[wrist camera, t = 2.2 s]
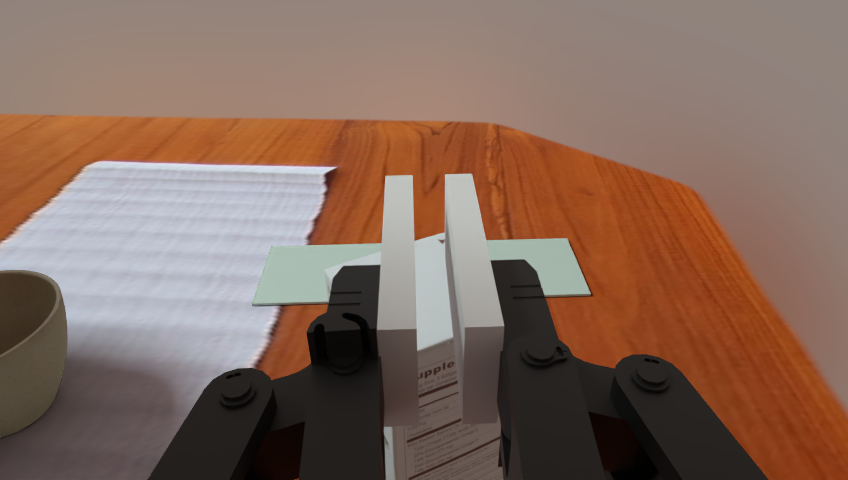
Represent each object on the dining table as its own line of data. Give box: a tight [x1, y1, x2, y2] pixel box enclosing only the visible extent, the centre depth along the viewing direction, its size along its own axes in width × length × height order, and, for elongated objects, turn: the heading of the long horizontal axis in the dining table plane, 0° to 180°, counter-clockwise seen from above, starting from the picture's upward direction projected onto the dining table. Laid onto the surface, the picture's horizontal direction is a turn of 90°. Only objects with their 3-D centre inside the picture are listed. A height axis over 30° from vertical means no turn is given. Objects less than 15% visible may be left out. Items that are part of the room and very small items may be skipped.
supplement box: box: [324, 233, 503, 480], centre depth 30 cm, size 7×7×13 cm
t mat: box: [252, 238, 591, 306], centre depth 41 cm, size 28×26×1 cm
